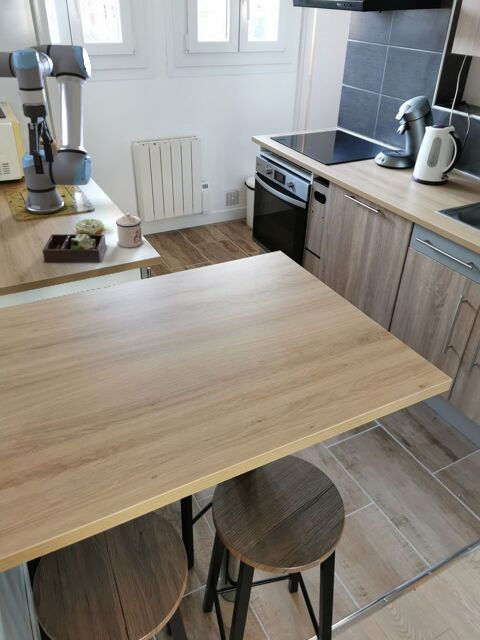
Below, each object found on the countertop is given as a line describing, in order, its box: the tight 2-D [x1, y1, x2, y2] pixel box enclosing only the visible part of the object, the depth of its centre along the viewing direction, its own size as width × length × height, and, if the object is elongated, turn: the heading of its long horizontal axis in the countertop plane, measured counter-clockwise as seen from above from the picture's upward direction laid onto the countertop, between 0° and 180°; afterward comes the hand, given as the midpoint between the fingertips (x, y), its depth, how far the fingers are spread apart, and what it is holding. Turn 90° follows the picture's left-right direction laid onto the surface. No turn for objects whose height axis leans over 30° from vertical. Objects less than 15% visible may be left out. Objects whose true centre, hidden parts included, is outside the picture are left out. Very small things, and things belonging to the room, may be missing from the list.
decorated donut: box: [74, 218, 105, 235], centre depth 200 cm, size 10×11×4 cm
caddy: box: [42, 233, 107, 263], centre depth 184 cm, size 13×19×5 cm
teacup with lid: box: [115, 212, 143, 248], centre depth 192 cm, size 12×9×12 cm
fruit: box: [69, 233, 96, 249], centre depth 183 cm, size 9×9×8 cm
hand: (45, 167), depth 181 cm, fingers open, 13 cm apart
